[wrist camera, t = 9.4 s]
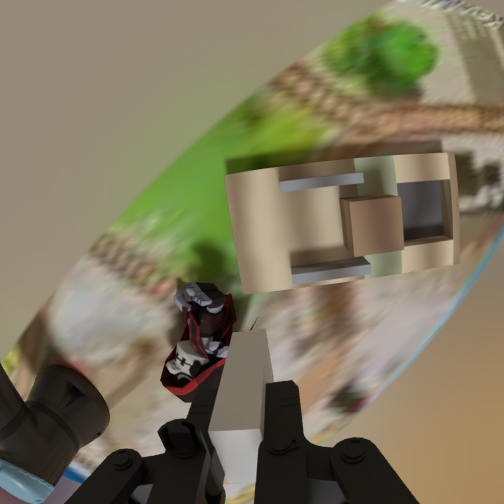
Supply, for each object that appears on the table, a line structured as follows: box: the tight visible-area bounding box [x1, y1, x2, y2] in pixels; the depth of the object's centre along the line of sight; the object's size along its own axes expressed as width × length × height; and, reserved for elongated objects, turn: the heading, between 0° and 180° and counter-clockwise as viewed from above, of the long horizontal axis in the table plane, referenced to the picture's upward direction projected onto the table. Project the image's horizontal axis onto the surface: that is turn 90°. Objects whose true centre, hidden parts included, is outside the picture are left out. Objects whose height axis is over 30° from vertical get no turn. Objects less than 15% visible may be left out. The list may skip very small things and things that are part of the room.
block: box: [339, 194, 404, 257], centre depth 30 cm, size 5×5×5 cm
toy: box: [160, 282, 258, 403], centre depth 36 cm, size 12×9×15 cm
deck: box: [224, 153, 460, 295], centre depth 33 cm, size 26×13×6 cm, turn 99°
